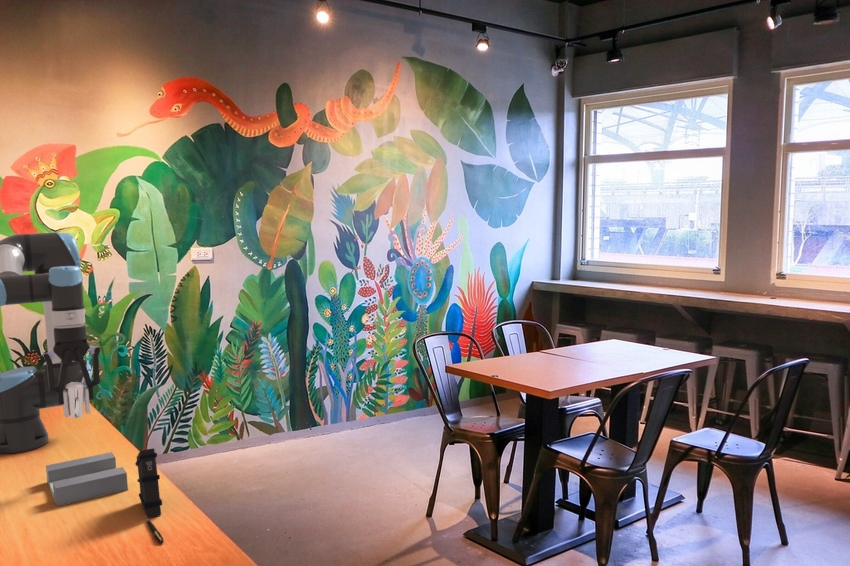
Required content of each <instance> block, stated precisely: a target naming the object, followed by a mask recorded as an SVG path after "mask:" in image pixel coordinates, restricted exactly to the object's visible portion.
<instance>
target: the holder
mask: <svg viewBox="0 0 850 566" xmlns="http://www.w3.org/2000/svg"><path fill="white" fill-rule="evenodd" d="M116 459H117V458H116V456H115V455H114V453H113V452H112V451H110V452H106V453H102V454H101V453H99V454H96V455H91V456H86V457H81V458H76V459H72V460H71V459H70V460H65V461H61V462H57V463H53V464H52V463H51V464H46V465H45V470H46V481H47V485H48V488H49V490H50V493H51V496H52V497H53V500H54V503H55V504H56V507H62V506H65V505H68V504H74V503H78V502H83V501H87V500H91V499H95V498H98V497H99V498H100V497H105V496H108V495H111V494H116V493H121V492H125V491H128V490H129V487H128V486H129V485H128V473H127V471H126V470H125V468H124V467H123V466H120V467H117V462H116V461H117V460H116Z"/></svg>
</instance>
